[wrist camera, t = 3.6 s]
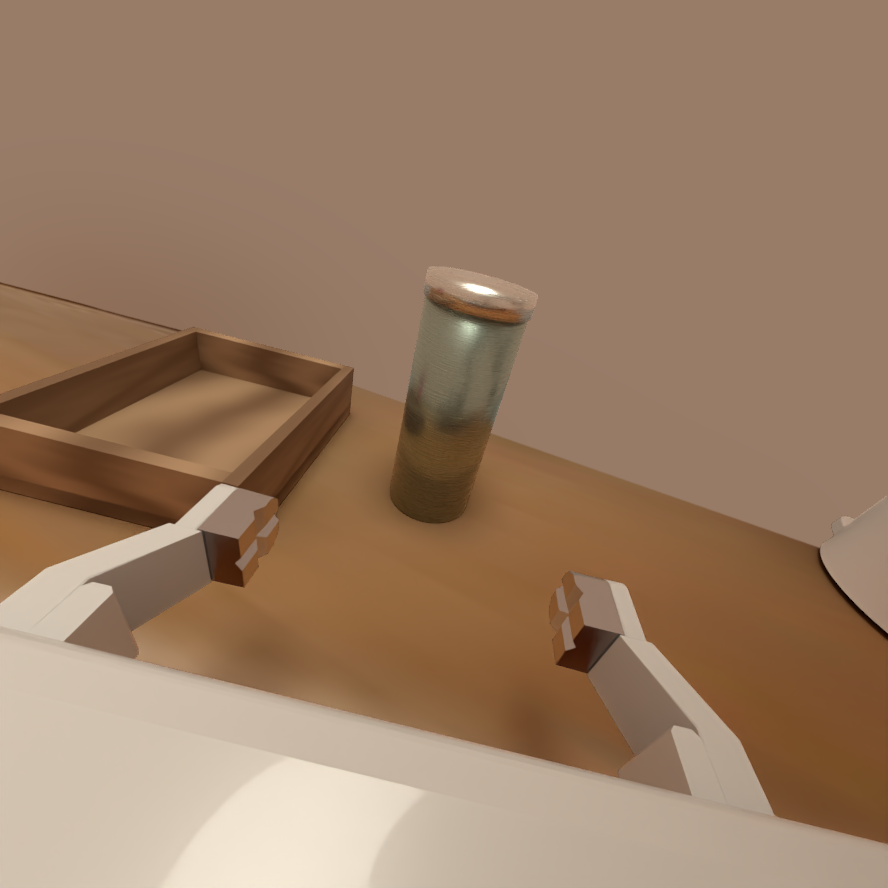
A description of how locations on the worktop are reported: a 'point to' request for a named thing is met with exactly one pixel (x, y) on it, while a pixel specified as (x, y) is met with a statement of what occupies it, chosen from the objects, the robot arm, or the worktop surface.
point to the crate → (171, 426)
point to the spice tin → (455, 388)
